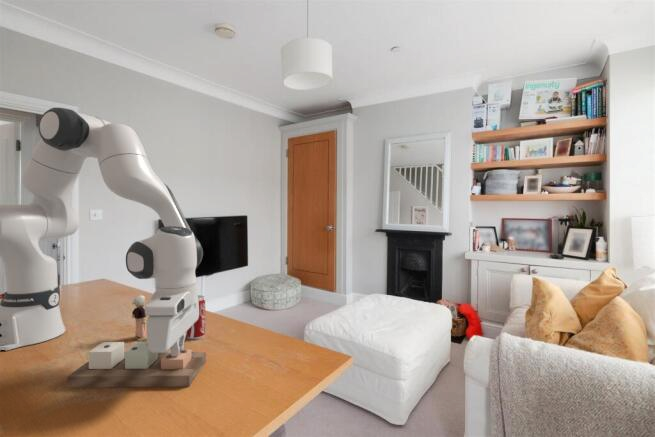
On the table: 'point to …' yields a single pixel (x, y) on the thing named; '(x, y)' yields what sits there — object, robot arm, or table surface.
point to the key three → (176, 360)
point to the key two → (139, 356)
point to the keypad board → (138, 375)
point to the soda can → (198, 322)
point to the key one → (106, 355)
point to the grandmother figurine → (140, 318)
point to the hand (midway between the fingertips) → (177, 353)
